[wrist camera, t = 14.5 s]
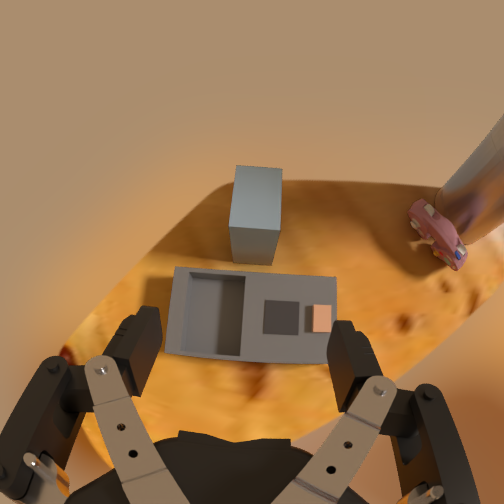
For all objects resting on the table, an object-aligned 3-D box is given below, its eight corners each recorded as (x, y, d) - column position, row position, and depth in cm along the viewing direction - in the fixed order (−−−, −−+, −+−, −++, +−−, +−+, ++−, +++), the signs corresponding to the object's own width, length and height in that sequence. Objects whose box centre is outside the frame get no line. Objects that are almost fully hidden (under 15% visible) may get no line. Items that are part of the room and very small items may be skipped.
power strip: (326, 286, 30) (338, 275, 26) (325, 363, 27) (337, 363, 23) (182, 277, 30) (173, 264, 26) (173, 354, 27) (162, 352, 23)
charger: (274, 214, 33) (282, 168, 25) (271, 265, 31) (280, 230, 23) (238, 212, 33) (236, 165, 25) (233, 262, 31) (228, 226, 23)
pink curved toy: (396, 220, 35) (405, 209, 28) (418, 198, 34) (430, 183, 27) (442, 277, 32) (460, 278, 25) (464, 253, 31) (484, 249, 24)
